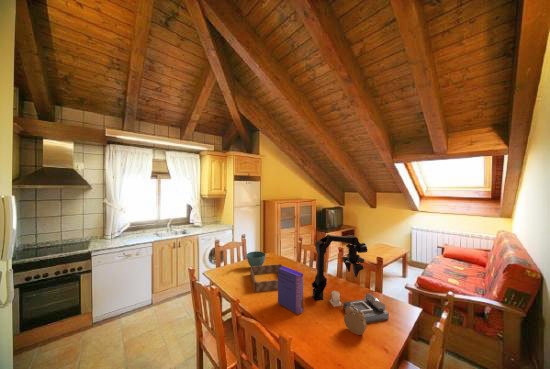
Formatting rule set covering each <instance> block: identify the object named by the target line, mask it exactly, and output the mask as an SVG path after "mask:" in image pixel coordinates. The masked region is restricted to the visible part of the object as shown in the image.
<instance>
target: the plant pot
mask: <svg viewBox="0 0 550 369" xmlns="http://www.w3.org/2000/svg"><path fill="white" fill-rule="evenodd" d="M266 254H267V253H265V252H263V251H257V250H256V251H250V252H248V253H246V260H247V263H248V265H249V266H250V267H253V266H264V263H265V261H266V256H267V255H266Z"/></svg>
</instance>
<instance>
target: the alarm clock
mask: <svg viewBox="0 0 550 369" xmlns="http://www.w3.org/2000/svg"><path fill="white" fill-rule="evenodd" d="M350 306H353V307H355V308H357V309H358V311H355V310H354V309H353V308H352V307H350ZM350 306H349V307H348V306H347V308H346V309H345V310H344V312H345V314H344V317H343V322H344V325H345V326H346V328H347V329H348V330H349V331H350V332H351V333H353V334H355V335H357V336H363V334H364V333H365V331H366V329H367V328H368V325H367V324H368V323H366V321H365V315H364V313H363V312H362V311H360V309H359V308H358V307H357V306H355V305H350Z"/></svg>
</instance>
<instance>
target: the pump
mask: <svg viewBox="0 0 550 369" xmlns="http://www.w3.org/2000/svg"><path fill="white" fill-rule="evenodd" d="M330 294H331V299H329V302H328V303H330V304H331V305H332V306H333V307H341V306H342V307H343V303H342V302H341V299H340V298H341V294H340V292H339V291H337V290H333V291H331V292H330Z"/></svg>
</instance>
